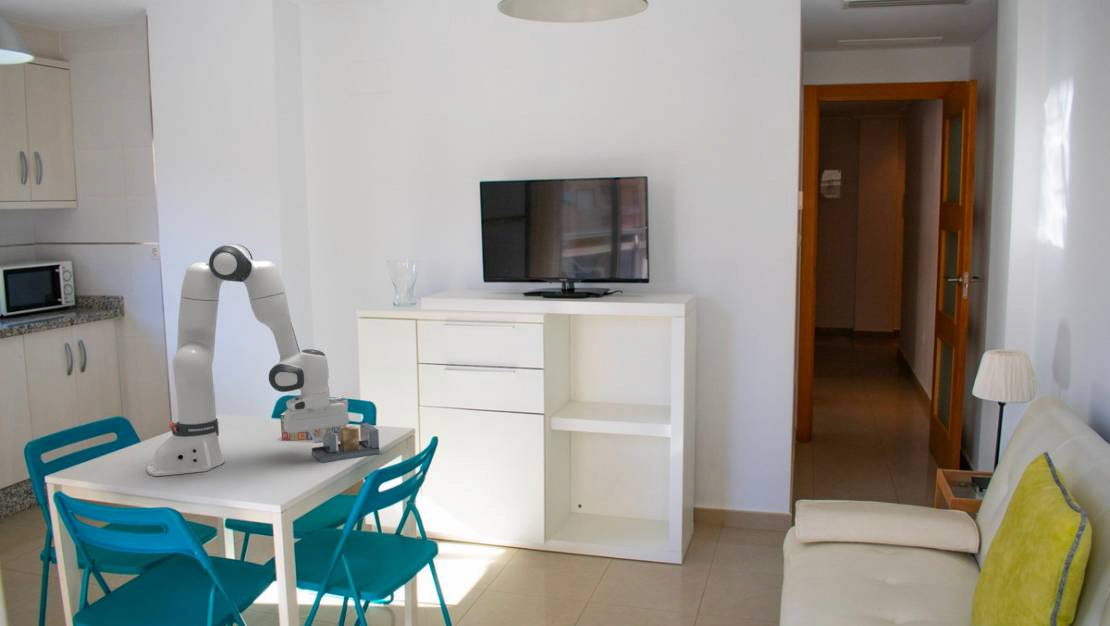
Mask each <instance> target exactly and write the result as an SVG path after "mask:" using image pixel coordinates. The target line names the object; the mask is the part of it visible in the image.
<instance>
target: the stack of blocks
mask: <svg viewBox="0 0 1110 626" xmlns="http://www.w3.org/2000/svg"><path fill="white" fill-rule="evenodd" d="M284 415H285V411H284V412H283V413H281V414H280V429H281V430H280V432H281V441H295V440H298V441H299V440H313V438H312V436H311V435H310V434H309V431H303V432H296V433H288V432H286V431H285V429H284ZM342 427H347V425H344V426H337V427H330V428H326V430H329V431H332V432H333V433H334V434H336V435H337V436H338V442H340V428H342ZM313 434H314V436H315V437H317V436H320V434H321V431H320V429H317V430H315V433H313Z"/></svg>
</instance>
